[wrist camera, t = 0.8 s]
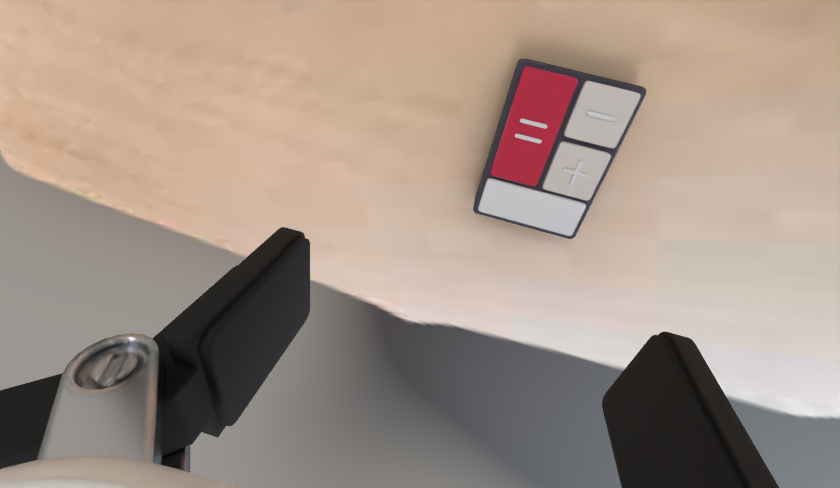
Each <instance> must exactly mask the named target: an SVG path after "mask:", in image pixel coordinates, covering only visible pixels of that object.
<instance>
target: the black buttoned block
mask: <svg viewBox="0 0 840 488" xmlns="http://www.w3.org/2000/svg"><path fill="white" fill-rule="evenodd" d="M645 94H646V89H645V88H644V87H641V86H637V85H633V84H629V83H625V82H621V81H617V80H612V79H608V78H604V77H600V76H596V75H592V74H587V73H583V72H579V71H575V70H571V69H567V68H562V67H558V66H554V65H550V64H546V63H542V62H537V61H533V60H529V59H520V60H519V61H518V63H517V65H516V69H515V72H514V75H513V78H512V82H511V85H510V88H509V91H508V94H507V98H506V101H505V104H504V107H503V111H502V114H501V117H500V120H499V123H498V127H497V130H496V133H495V136H494V140H493V143H492V146H491V149H490V152H489V156H488V159H487V162H486V165H485V168H484V171H483V174H482V177H481V181H480V184H479V187H478V190H477V194H476V197H475V202H474V208H473V210H474V212H475V213H477V214H481V215H485V216H488V217H492V218H495V219H499V220H503V221H506V222H510V223H514V224H517V225H521V226H525V227H528V228H532V229H536V230H539V231H543V232H546V233H550V234H554V235H557V236H561V237H565V238H568V239H572V238H574V237H575V235H576V233H577V231H578V229H579V227H580V225H581V223H582V221H583V219H584V217H585V215H586V213H587V211H588V209H589V207H590V205H591V203H592V201H593V199H594V197H595V195H596V193H597V191H598V189H599V187H600V185H601V183H602V181H603V179H604V177H605V175H606V173H607V171H608V169H609V167H610V165H611V163H612V161H613V159H614V157H615V155H616V153H617V151H618V149H619V147H620V145H621V143H622V141H623V139H624V137H625V135H626V133H627V131H628V129H629V127H630V125H631V123H632V121H633V119H634V117H635V115H636V113H637V111H638V109H639V107H640V105H641V103H642V101H643V99H644V97H645Z"/></svg>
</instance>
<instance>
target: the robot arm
mask: <svg viewBox="0 0 840 488" xmlns="http://www.w3.org/2000/svg"><path fill="white" fill-rule="evenodd" d="M309 311H310V242H309V240H308V239H305V236H304V233H302V232H299V231H296V230H292V229H288V228H285V227H281V228H280V229H278V230H277V231H276V232H275V233H274V234H273V235H272V236H271V237H269V238H268V239H267V240H266V241H265V242H264V243H263V244H261V245H260V246H259V247H258V248H257V249H256V250H255V251H254V252H252V253H251V254H250V255H249V256H248V257H247V258H246V259H245V260H243V261H242V262H241V263H240V264H239V265H237V266H236V267H234V268H233V269H231V270H230V271H229V272H228V273H227V274H225V275H224V276H223V277H222V278H221V279H220V280H219V281H217V282H216V283H215V284H214V285H213V286H212V287H211V288H210V289H209V290H207V291H206V292H205V293H204V294H203V295H202V296H200V297H199V298H198V299H197V300H196V301H195V302H194V303H192V304H191V305H190V306H189V307H188V308H187V309H186V310H184V311H183V312H182V313H181V314H180V315H179V316H178V317H177V318H175V319H174V320H173V321H172V322H171V323H170V324H169V325H168V326H166V327H165V328H164V329H163V330H162V331H161V332H159V334H157V335H156V336H155V337H154V338H153V339H152V338H150V337H147V336H145V335H141V334H124V335H116V336H113V337H110V338H106V339H103V340H101V341H99V342H97V343H95V344H92V345H90V346H89V347H87V348H86V349H84V350H83V351H82V352H80V353H78V354H77V355H76V356H75V357H74V358H73V359H72V360H71V362H69V364H68V365H67V367H66V368H65V370H64V372H63V373H62V374H59V375H55V376H52V377H48V378H44V379H40V380H37V381H33V382H30V383H26V384H22V385H19V386H15V387H11V388H8V389H4V390H1V391H0V488H237V487H234V486H230V485H227V484H224V483H221V482H218V481H215V480H211V479H208V478H205V477H202V476H199V475H196V474H193V473H190V445H191V444H193V442H194V441H195V439H196V438H197V437H198V436H199V434H200V433H201V432H203V433H206V434H209V435H212V436H215V437H219V435H220V433H221V432H222V431H223V429H224V428H225V427H226V425H227V426H232V425H233V424H234V423H235V422H236V421H237V420H238V418H239V417H240V415H241V414H242V412H243V411H244V410H245V408H246V407H247V405H248V404H249V402H250V401H251V399H252V398H253V397H254V395H255V394H256V392H257V391H258V389H259V388H260V386H261V385H262V384H263V382H264V381H265V379H266V378H267V376H268V375H269V373H270V372H271V370H272V369H273V367H274V366H275V365H276V363H277V362H278V360H279V359H280V357H281V356H282V354H283V353H284V351H285V350H286V349H287V347H288V345H289V344H290V343H291V341H292V340H293V338H294V337H295V336H296V334H297V333H298V331H299V330H300V328H301V327H302V325H303V324H304V322H305V321H306V319H307V317H308V314H309ZM602 407H603V412H604V416H605V420H606V424H607V428H608V432H609V437H610V441H611V445H612V449H613V453H614V457H615V461H616V465H617V469H618V474H619V478H620V482H621V486H622V488H779V487H778V485H777V484H776V482H775V480H774V478H773V476H772V475H771V473H770V472H769V470H768V468H767V466H766V464H765V463H764V461H763V459H762V458H761V456H760V454H759V452H758V451H757V449H756V447H755V446H754V444H753V442H752V440H751V439H750V437H749V435H748V434H747V432H746V430H745V428H744V427H743V425H742V423H741V422H740V420H739V418H738V416H737V415H736V413H735V411H734V410H733V408H732V406H731V404H730V403H729V401H728V399H727V398H726V396H725V394H724V392H723V391H722V389H721V387H720V386H719V384H718V382H717V381H716V379H715V377H714V375H713V374H712V372H711V370H710V369H709V367H708V365H707V363H706V362H705V360H704V358H703V357H702V355H701V353H700V351H699V350H698V348H697V346H696V345H695V343H694V342H693V341H692V340H691V339H690V338H687V337H683V336H680V335H676V334H672V333H669V332H662V333H660V334H659V335H654V336H652V337H651V338H650V339H649V340H648V341H647V342H646V344H645V345H644V346H643V347H642V349H641V350H640V351H639V352H638V354H637V355H636V356H635V357H634V359H633V360H632V361H631V362H630V364H629V365H628V366H627V367H626V369H625V370H624V371H623V372H622V374H621V375H620V376H619V377H618V379H617V380H616V381H615V382H614V384H613V385H612V386H611V387H610V389H609V390H608V391H607V392H606V394H605V395H604V397H603V402H602Z"/></svg>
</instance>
